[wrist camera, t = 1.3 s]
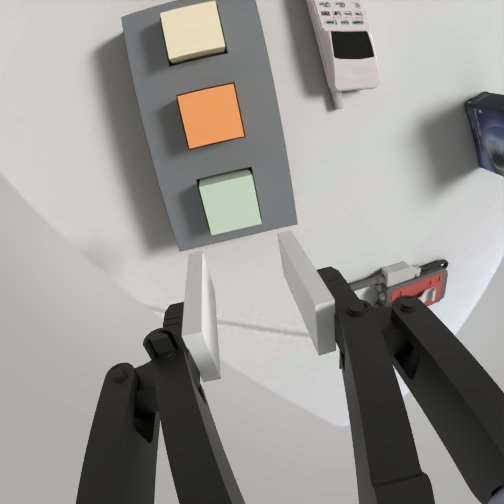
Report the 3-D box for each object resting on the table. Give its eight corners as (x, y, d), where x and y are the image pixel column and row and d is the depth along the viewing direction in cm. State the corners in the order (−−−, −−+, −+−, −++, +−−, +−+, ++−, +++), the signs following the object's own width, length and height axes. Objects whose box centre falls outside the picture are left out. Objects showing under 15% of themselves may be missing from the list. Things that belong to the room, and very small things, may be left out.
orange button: (182, 98, 25) (177, 96, 21) (229, 88, 26) (233, 83, 22) (192, 143, 28) (189, 148, 24) (239, 132, 28) (244, 136, 24)
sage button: (200, 176, 29) (199, 187, 25) (246, 165, 29) (252, 174, 25) (211, 218, 31) (211, 235, 27) (254, 208, 31) (261, 223, 27)
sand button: (166, 26, 22) (159, 13, 18) (214, 15, 22) (215, 0, 18) (175, 66, 24) (169, 59, 20) (223, 56, 24) (225, 46, 20)
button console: (131, 27, 22) (121, 17, 19) (246, 1, 23) (252, -13, 19) (182, 235, 33) (179, 251, 30) (288, 211, 34) (297, 224, 30)
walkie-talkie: (443, 244, 40) (327, 281, 39) (461, 257, 36) (339, 300, 35) (437, 290, 44) (331, 329, 43) (452, 304, 40) (341, 349, 39)
